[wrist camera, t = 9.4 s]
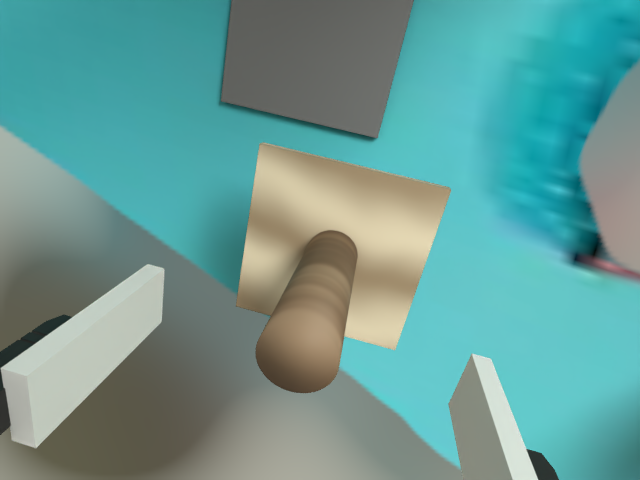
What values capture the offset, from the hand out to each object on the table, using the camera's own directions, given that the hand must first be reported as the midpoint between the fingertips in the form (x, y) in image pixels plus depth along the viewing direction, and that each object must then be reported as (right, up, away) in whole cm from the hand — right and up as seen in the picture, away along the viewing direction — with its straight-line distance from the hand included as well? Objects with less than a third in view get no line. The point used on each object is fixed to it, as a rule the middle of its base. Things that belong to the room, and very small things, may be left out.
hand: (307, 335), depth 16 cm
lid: (+1, +3, +10) cm, 11 cm away
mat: (+1, +23, +14) cm, 27 cm away
